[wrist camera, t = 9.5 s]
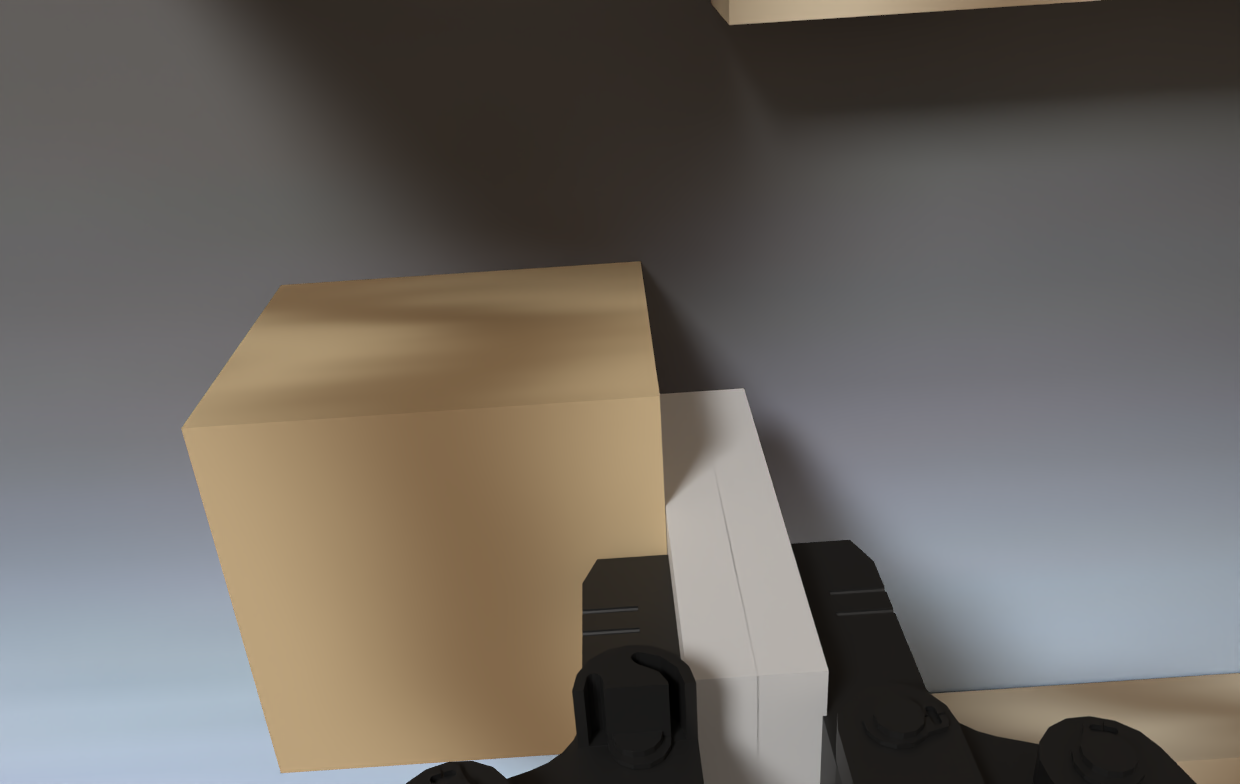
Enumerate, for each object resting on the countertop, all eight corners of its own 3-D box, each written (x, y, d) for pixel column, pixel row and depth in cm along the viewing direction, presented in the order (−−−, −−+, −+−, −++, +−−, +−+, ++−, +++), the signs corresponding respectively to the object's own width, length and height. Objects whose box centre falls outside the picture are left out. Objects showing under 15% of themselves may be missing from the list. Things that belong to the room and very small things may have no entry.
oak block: (347, 571, 20) (280, 772, 16) (282, 282, 18) (181, 428, 13) (655, 550, 20) (676, 746, 16) (640, 258, 18) (659, 395, 13)
